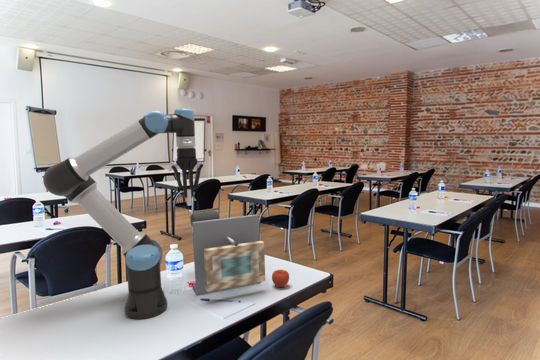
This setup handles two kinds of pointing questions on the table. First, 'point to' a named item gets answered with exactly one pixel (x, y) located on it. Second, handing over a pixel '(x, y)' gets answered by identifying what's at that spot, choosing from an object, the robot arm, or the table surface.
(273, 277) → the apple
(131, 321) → the table surface
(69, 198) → the robot arm
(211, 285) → the frame
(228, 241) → the panel
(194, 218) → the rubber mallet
